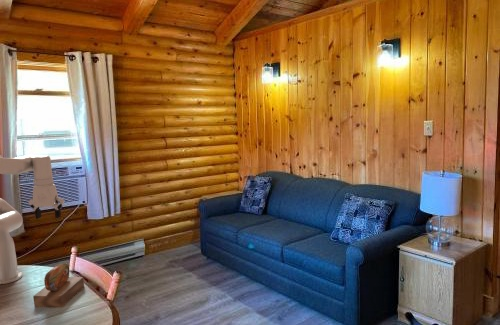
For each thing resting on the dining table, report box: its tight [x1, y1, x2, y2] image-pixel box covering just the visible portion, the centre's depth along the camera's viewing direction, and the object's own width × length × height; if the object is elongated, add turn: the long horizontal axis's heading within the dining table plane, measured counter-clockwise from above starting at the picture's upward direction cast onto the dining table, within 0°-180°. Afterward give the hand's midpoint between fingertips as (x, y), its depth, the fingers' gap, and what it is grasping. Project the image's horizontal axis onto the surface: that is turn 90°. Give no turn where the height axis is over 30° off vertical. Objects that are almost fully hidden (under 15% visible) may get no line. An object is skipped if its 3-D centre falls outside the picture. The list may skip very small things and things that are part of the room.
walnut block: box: [32, 276, 85, 309], centre depth 174 cm, size 12×18×5 cm, turn 174°
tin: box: [43, 263, 70, 291], centre depth 173 cm, size 15×3×8 cm, turn 174°
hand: (48, 217), depth 189 cm, fingers open, 9 cm apart
